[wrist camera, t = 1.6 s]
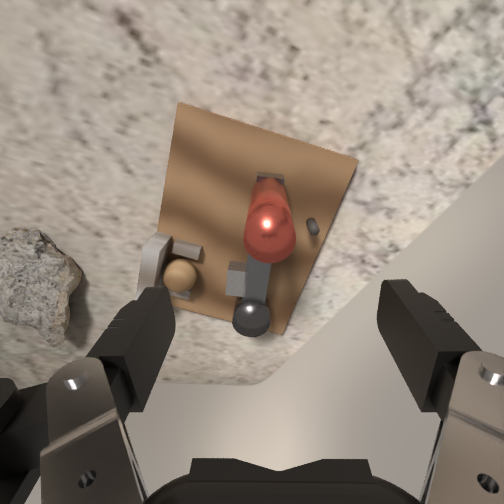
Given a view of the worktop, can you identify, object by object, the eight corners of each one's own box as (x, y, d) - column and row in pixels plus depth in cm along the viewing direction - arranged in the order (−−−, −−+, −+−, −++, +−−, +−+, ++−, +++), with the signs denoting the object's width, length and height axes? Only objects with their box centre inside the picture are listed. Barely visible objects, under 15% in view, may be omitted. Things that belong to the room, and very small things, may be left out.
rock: (28, 228, 29) (87, 349, 34) (62, 217, 33) (111, 327, 38) (-63, 244, 33) (3, 351, 38) (-23, 232, 37) (32, 331, 42)
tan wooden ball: (171, 249, 32) (160, 265, 29) (202, 258, 33) (195, 274, 29) (166, 276, 34) (155, 294, 31) (196, 284, 34) (189, 303, 31)
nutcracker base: (181, 102, 27) (163, 100, 22) (355, 158, 28) (372, 167, 24) (149, 293, 36) (132, 320, 32) (281, 328, 38) (283, 359, 33)
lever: (267, 322, 34) (267, 419, 23) (224, 317, 34) (205, 412, 23) (292, 175, 27) (309, 219, 16) (237, 169, 27) (218, 208, 16)
